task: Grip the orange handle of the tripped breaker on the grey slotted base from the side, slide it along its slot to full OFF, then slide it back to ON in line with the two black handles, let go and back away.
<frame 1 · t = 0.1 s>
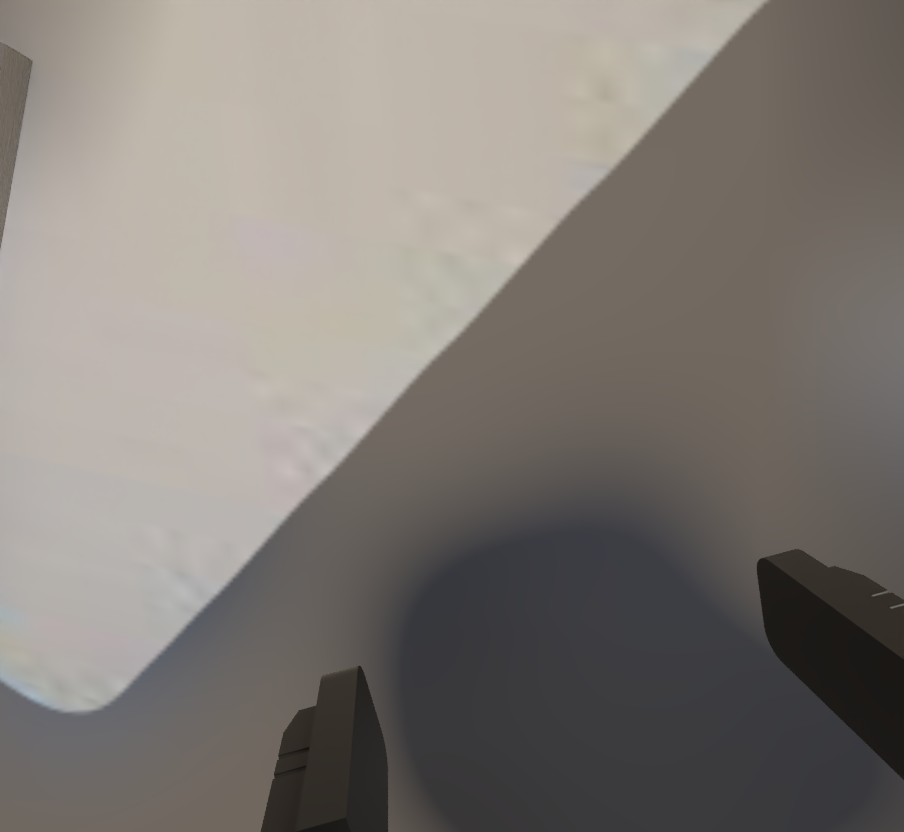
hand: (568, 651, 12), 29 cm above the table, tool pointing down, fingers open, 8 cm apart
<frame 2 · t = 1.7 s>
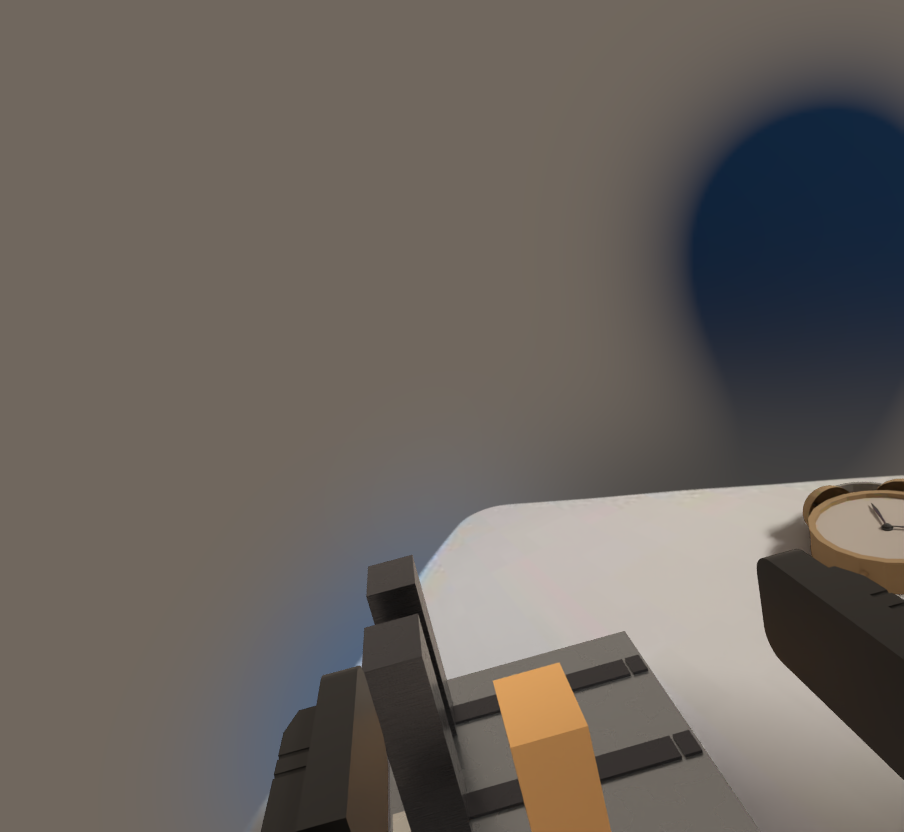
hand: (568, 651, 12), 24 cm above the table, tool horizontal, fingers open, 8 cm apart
tripped handle: (563, 811, 27), point 8 cm above the table, slide at 0.0 cm
alarm clock: (881, 552, 54), on the table
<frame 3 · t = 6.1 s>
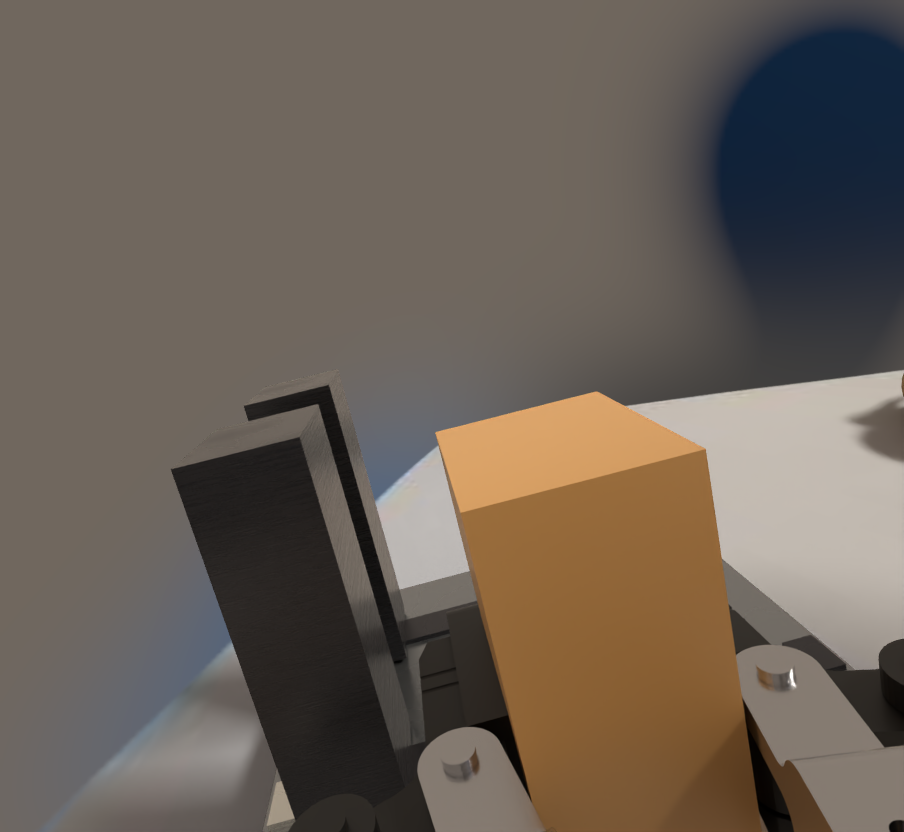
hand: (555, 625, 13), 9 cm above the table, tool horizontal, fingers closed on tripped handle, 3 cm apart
tripped handle: (607, 746, 11), point 8 cm above the table, slide at 0.0 cm, touching gripper
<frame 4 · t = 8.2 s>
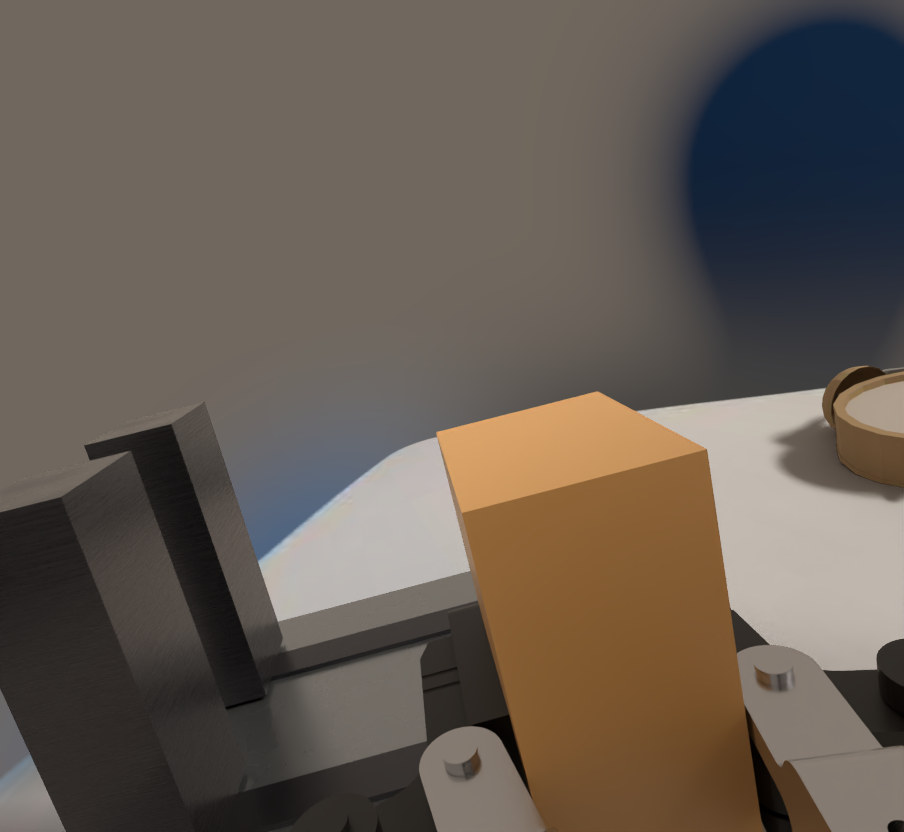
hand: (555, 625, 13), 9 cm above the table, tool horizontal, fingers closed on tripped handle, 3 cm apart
tripped handle: (608, 746, 11), point 8 cm above the table, slide at 5.5 cm, touching gripper
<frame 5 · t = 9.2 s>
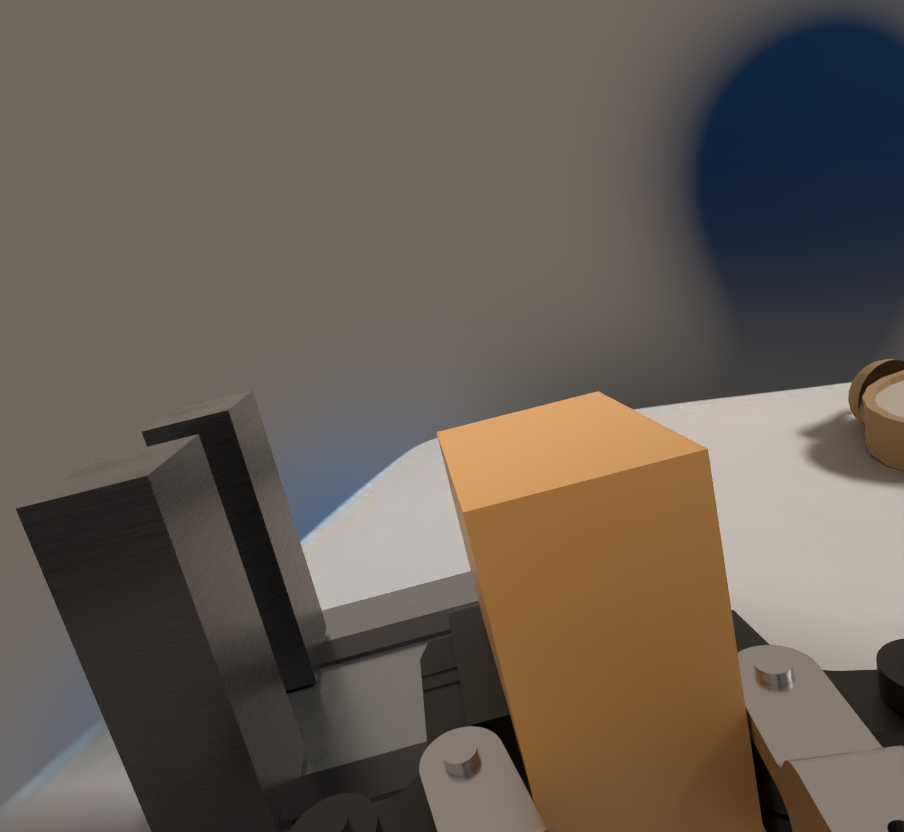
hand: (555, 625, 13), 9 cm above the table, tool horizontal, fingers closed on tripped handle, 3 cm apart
tripped handle: (608, 746, 11), point 8 cm above the table, slide at 3.6 cm, touching gripper
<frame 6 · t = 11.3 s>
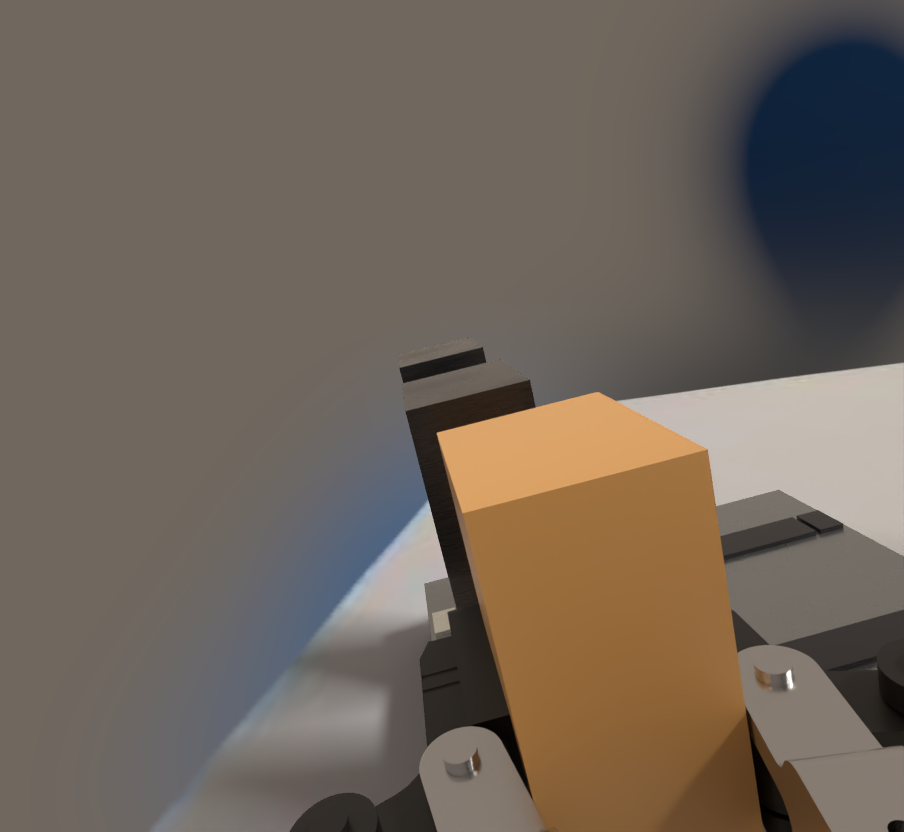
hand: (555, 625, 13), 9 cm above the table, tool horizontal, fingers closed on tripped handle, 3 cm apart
tripped handle: (608, 746, 11), point 8 cm above the table, slide at -5.5 cm, touching gripper
grey slotted base: (766, 786, 19), on the table
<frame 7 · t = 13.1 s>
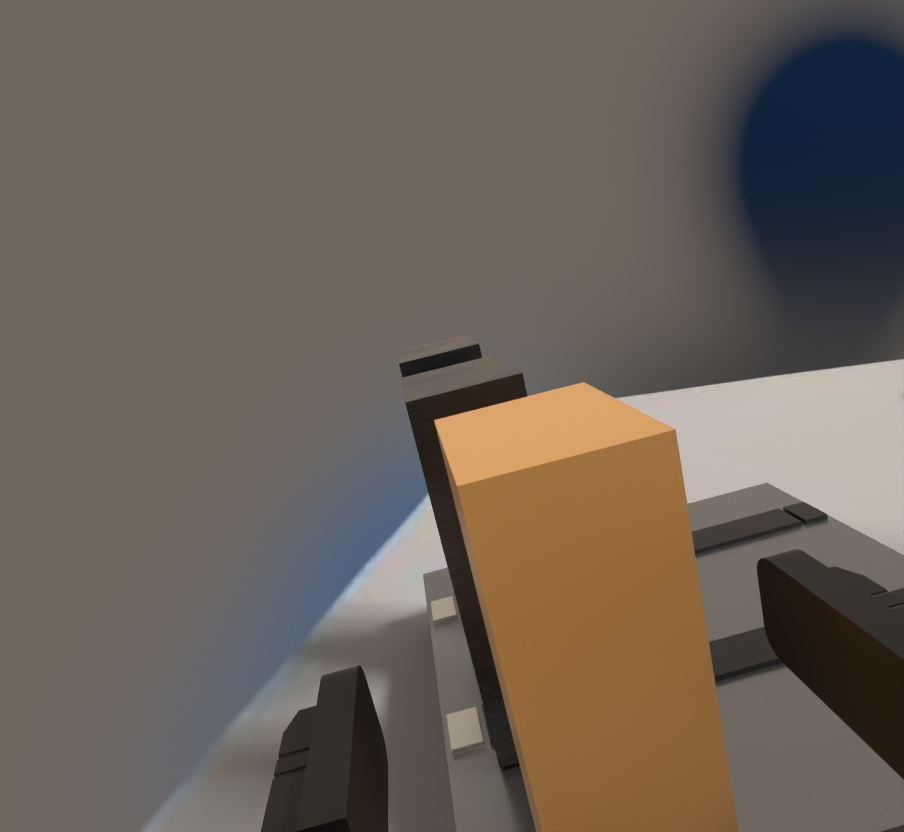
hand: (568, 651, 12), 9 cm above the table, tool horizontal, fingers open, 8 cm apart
tripped handle: (592, 708, 12), point 8 cm above the table, slide at -5.5 cm
grey slotted base: (748, 761, 20), on the table
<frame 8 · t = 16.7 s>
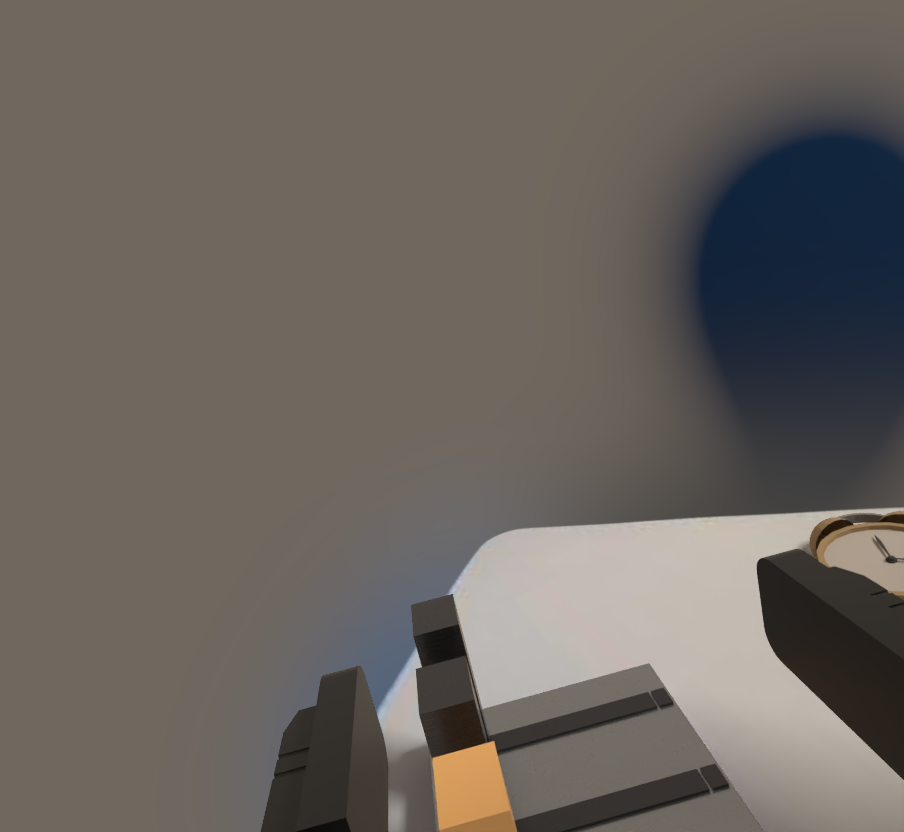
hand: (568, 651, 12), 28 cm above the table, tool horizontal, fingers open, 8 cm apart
alarm clock: (885, 581, 57), on the table
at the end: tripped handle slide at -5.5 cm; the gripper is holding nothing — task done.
